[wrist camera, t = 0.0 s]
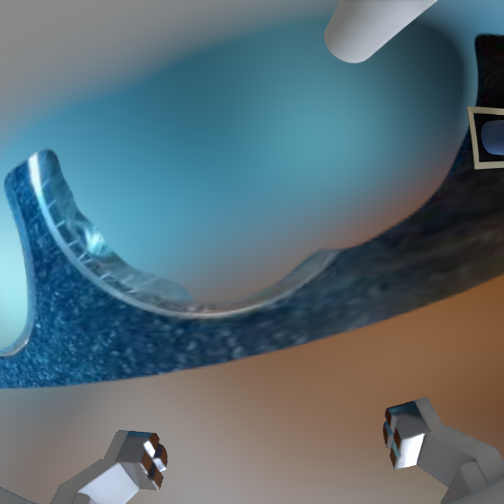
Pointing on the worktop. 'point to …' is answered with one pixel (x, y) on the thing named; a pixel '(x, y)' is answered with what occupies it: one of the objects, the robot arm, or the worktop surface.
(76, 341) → the worktop surface
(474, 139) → the spot outline
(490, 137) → the blue bottle
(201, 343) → the worktop surface
